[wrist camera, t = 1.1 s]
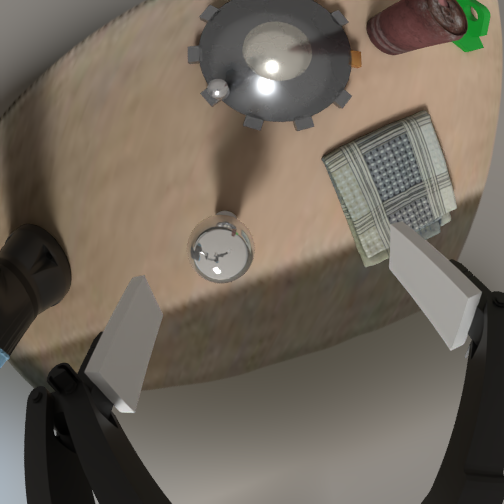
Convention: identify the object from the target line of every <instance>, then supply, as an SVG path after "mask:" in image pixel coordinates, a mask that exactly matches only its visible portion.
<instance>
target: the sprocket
mask: <svg viewBox="0 0 504 504" xmlns="http://www.w3.org/2000/svg"><path fill="white" fill-rule="evenodd" d="M200 19H201V20H202V21H204V22H206V23H207V24H206V26H205V28H204V30H203V32H202V35H201V38H200V44H199V46H190V47H188V63H189V64H196V63H200V67H201V70H202V73H203V75H204V77H205V80H206V82H207V83H208V87H207V89H205V90H204V91H203V92H201V93H200V94H201V95H202V96H203V97H204V98H205V99H206V100H207V102H208V103H209V104H210V105H211V106H212V107H213V106H214V105H215V104H217V103H218V102H219V101H221V100H222V101H223V102H224V103H226V104H227V105H228V106H230V107H231V108H233V109H234V110H236V111H238V112H240V113H242V114H244V115H246V117H245V120H244V124H243V126H246V127H249V128H253V129H256V130H261V127H262V124H263V121H264V120H265V121H273V122H286V121H293V124H294V127H295V130H296V131H300V130H303V129H307V128H310V127H314V124H313V121H312V118H311V116H312V115H314V114H317V113H319V112H321V111H322V110H324V109H325V108H327V107H328V106H329V105H330V104H332V103H333V104H335V105H336V106H337V107H338V108H343V107H344V106H345V104H346V103H347V102H348V101H349V99H350V98H351V97H352V96H351V95H350V94H349V93H348V92H347V91H345V90H344V88H345V86H346V84H347V82H348V79H349V76H350V72H351V67H354V68H359V67H361V52H358V51H353V50H351V49H350V44H349V41H348V38H347V36H346V34H345V32H344V30H343V28H342V26H344V25H346V24H347V23H348V21H347V20H346V18H345V17H344V16H343V15H342V14H341V12H340V11H339V10H337V11H335V12H332V13H329V12H328V11H327V10H326V9H325V8H323V7H322V6H321V5H319V4H318V3H316V2H314V1H312V0H231V1H229V2H228V3H226V4H225V5H223V6H222V7H221V8H220V9H218V8H216V7H214V6H211V5H209V6H208V7H207V9H206V10H205V11H204V12H203V13H202V14H201V15H200Z"/></svg>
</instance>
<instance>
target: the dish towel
mask: <svg viewBox="0 0 504 504" xmlns="http://www.w3.org/2000/svg"><path fill="white" fill-rule="evenodd" d="M322 161H323V163H324V164H325V166H326V169H327V171H328V174H329V176H330V179H331V181H332V183H333V186H334V188H335V191H336V193H337V196H338V199H339V201H340V204H341V207H342V210H343V212H344V215H345V217H346V219H347V222H348V225H349V227H350V230H351V233H352V236H353V238H354V241H355V244H356V247H357V250H358V252H359V254H360V256H361V258H362V261H363V264H364V266H365V267H368V266H371V265H375V264H377V263H380V262H382V261H383V260H385V259H388V258H389V257H390V224H393V223H397V222H402V221H403V222H404V223H405V224H406V225H408V226H409V227H410V228H411V229H413V230H414V231H415V232H416V233H418V234H419V235H420V236H421V237H422V238H424V239H425V240H426V239H428V238H430V237H433V236H434V235H436V234H438V233H440V232H441V231H440V226H443V225H444V224H445V223H448V222H450V221H451V216H450V212H449V211H452V210H454V209H456V208H457V205H456V200H455V196H454V191H453V187H452V183H451V180H450V176H449V173H448V170H447V166H446V162H445V159H444V156H443V153H442V150H441V147H440V144H439V142H438V139H437V136H436V133H435V131H434V128H433V125H432V123H431V118H430V115H429V114H428V113H427V111H426V110H422V111H420V112H418V113H416V114H414V115H411V116H409V117H406V118H404V119H401V120H399V121H396V122H393V123H391V124H388V125H386V126H384V127H382V128H380V129H377V130H376V131H373V132H371V133H369V134H367V135H365V136H363V137H360V138H358V139H356V140H354V141H352V142H350V143H348V144H346V145H344V146H341V147H339V148H338V149H336V150H335V151H333V152H331V153H329V154H327V155H326V156H324V157H322Z"/></svg>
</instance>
